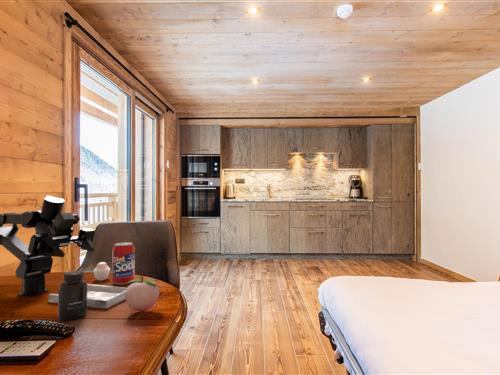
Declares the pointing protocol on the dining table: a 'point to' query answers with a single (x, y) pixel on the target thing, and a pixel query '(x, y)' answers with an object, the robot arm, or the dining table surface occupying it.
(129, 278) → the soda can
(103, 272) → the small white vase
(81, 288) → the supplement bottle
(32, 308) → the dining table surface
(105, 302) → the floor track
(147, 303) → the decorative fruit
